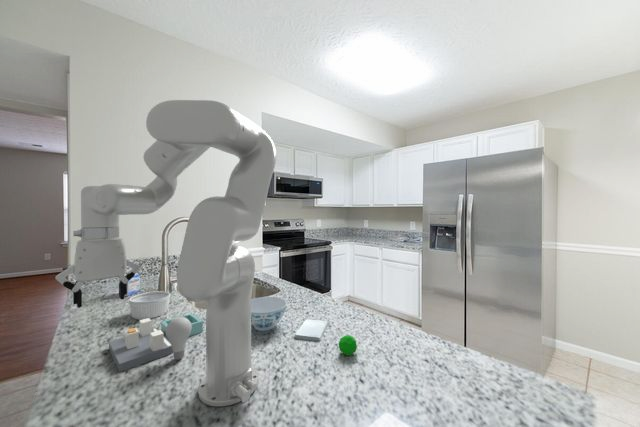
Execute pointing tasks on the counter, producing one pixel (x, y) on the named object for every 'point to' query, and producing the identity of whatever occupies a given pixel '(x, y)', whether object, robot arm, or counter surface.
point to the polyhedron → (347, 345)
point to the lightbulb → (178, 335)
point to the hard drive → (311, 330)
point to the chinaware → (266, 312)
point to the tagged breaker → (131, 338)
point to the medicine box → (133, 285)
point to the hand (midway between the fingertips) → (101, 301)
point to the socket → (195, 322)
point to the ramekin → (149, 304)
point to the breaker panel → (140, 347)
